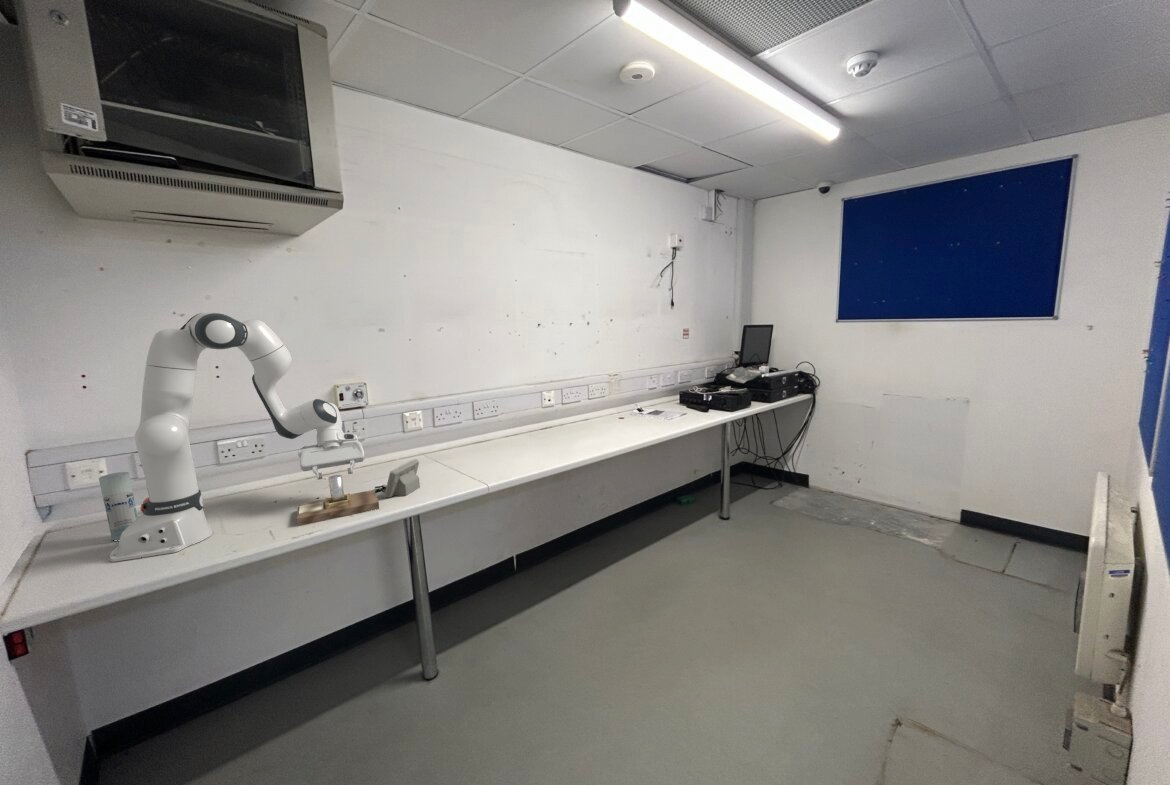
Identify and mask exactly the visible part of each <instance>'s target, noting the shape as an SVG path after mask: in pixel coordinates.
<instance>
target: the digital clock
mask: <svg viewBox="0 0 1170 785" xmlns="http://www.w3.org/2000/svg"><path fill="white" fill-rule="evenodd" d="M419 464H420V461H419V460H418V459H417V458H414V459H411V460H410V461H407V462H406V463H404V464H402V465H400V466H398V467H396V468H394V469H392V470H391V471H390V472H389V474H388V479H387V482H386V487H385V490H384V496H385V497H386V498H388V499H389V498H392V497H393V496H401V497H407V496H408V495H410V494H411V493H413V492H414V491H416V490H418V489H420V487H421V486H420V484H421V483H420V477H419V476H418V475H417V472H418V469H419V466H420V465H419Z"/></svg>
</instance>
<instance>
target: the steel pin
mask: <svg viewBox="0 0 1170 785" xmlns="http://www.w3.org/2000/svg"><path fill="white" fill-rule="evenodd" d="M343 481H344V480H343V475H341V474H334V475H331V476H329V477H328V483H329V490H330V491H329V492H330V493H329V494H330V497H331V501H332V503H334V502H339V501H344V500H345V498H344V494H345V492H344V491H345V490H344V484H343Z"/></svg>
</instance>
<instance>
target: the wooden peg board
mask: <svg viewBox="0 0 1170 785" xmlns="http://www.w3.org/2000/svg"><path fill="white" fill-rule="evenodd" d="M344 498H345V500H344V501H339V502H334V503H332V501H331V496H328V497H325V498H323V499H320V500H313V501H308V502H304V503H298V505H297V513H296V514H297V515H296V524H297V527H300V526H305V525H309V524H314V523H319V522H324V521H328V520H329V521H330V520H334V519H338V518H339V519H340V518H343V517H347V516H352V515H357V514H361V513H367V512H371V510H372V511H375V509H376V510H379V509H380V502H379V499H378V497H377V494H376V491H375V489H372V490H366V491H361V492H360V491H359V492H355V493H344ZM366 511H367V512H366Z"/></svg>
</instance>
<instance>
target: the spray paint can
mask: <svg viewBox="0 0 1170 785" xmlns="http://www.w3.org/2000/svg"><path fill="white" fill-rule="evenodd" d="M98 481H99V487H100V490H101V494H102V500H103V504H104V509H105V513H106V514H105V515H106V518H107V523H108V528H109V531H110V537H111V540H112V541H113V540H120V537H121V534H122V532H123V531H124V530H125V529H126V528H127V527H128V526H129V525H130V524H132V523H133V522H134V521H135V520H136V519H138V518H139V517H138V513H137V512H138V511H137V507H136V502H135V496H134V490H133V486H132V480H131V475H130V472H129V471H120V472H114V473H108V474H105V475H102V476H100V477H98Z"/></svg>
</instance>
